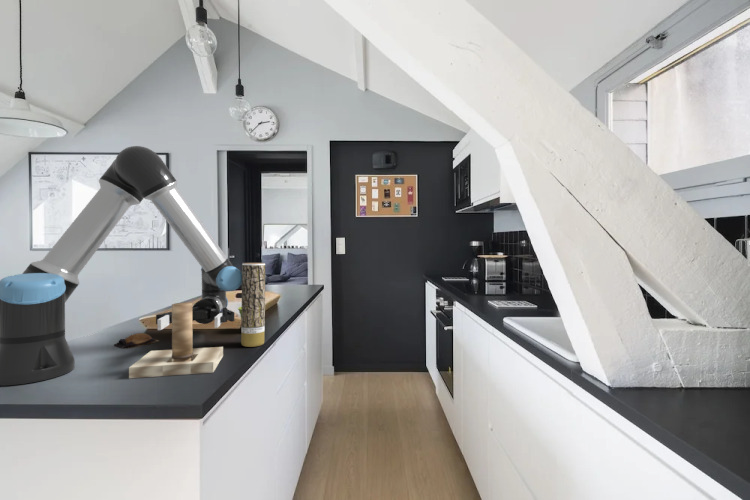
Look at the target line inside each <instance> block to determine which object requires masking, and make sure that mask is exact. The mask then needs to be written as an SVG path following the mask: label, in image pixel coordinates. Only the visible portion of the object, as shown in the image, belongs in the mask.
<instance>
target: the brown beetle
mask: <svg viewBox="0 0 750 500" xmlns="http://www.w3.org/2000/svg"><path fill="white" fill-rule="evenodd" d="M157 342H160V340H158V339H156V338H153V337H152V336H151V335H149V334H148V333H145V332H144V333H143V332H139V333H138V332H137V333H134V334H131V335H129V336H128V337H125V338H120V339H119V340H118V342H116V343H114V344H113V347H115V348H119V349H122V350H123V349H126V350H127V349H128V350H129V349H133V348H138V347H142V346H146V345H152V344H155V343H157Z"/></svg>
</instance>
